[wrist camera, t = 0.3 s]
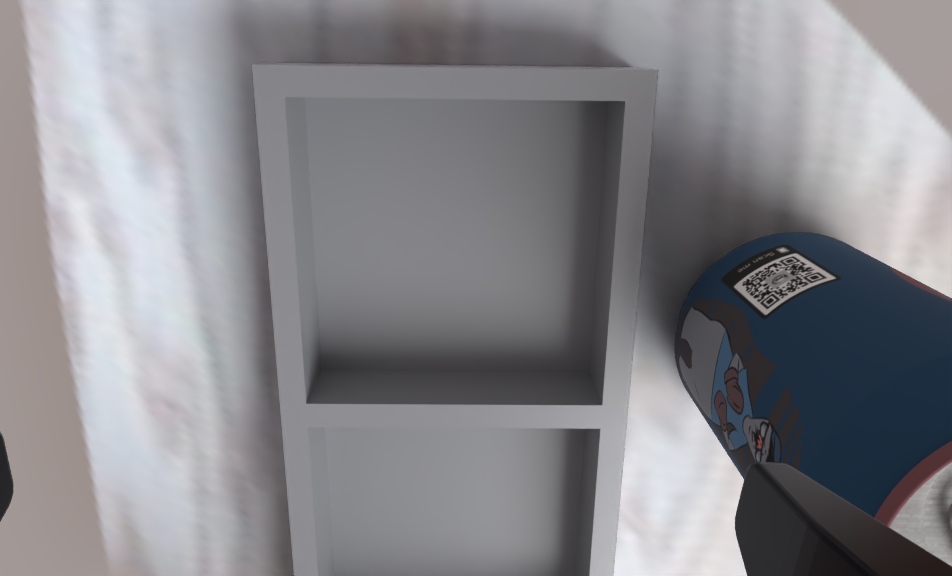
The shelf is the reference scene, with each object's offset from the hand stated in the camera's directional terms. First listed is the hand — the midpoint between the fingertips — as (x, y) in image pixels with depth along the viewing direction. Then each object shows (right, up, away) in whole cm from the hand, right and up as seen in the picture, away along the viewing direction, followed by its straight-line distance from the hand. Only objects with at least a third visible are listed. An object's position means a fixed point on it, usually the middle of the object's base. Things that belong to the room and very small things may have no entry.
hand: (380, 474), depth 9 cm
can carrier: (0, -1, +16) cm, 16 cm away
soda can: (+11, +1, +16) cm, 19 cm away
